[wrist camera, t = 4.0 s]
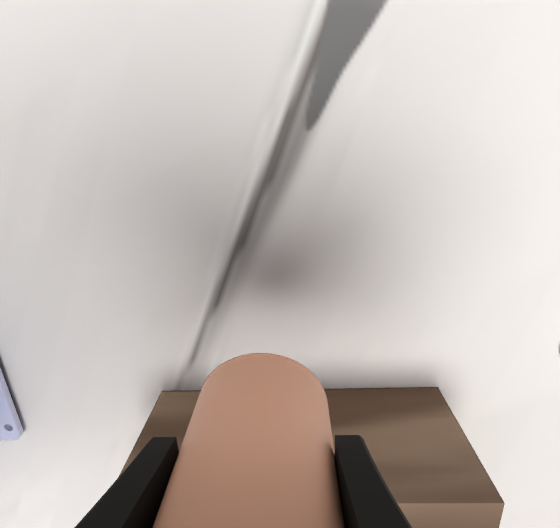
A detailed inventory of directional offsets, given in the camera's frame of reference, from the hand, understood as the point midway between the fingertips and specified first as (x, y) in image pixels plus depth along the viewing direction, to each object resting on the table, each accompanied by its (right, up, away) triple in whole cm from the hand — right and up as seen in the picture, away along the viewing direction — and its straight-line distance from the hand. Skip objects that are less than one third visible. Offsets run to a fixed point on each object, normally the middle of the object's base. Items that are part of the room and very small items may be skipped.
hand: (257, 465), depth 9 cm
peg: (0, +1, +2) cm, 2 cm away
